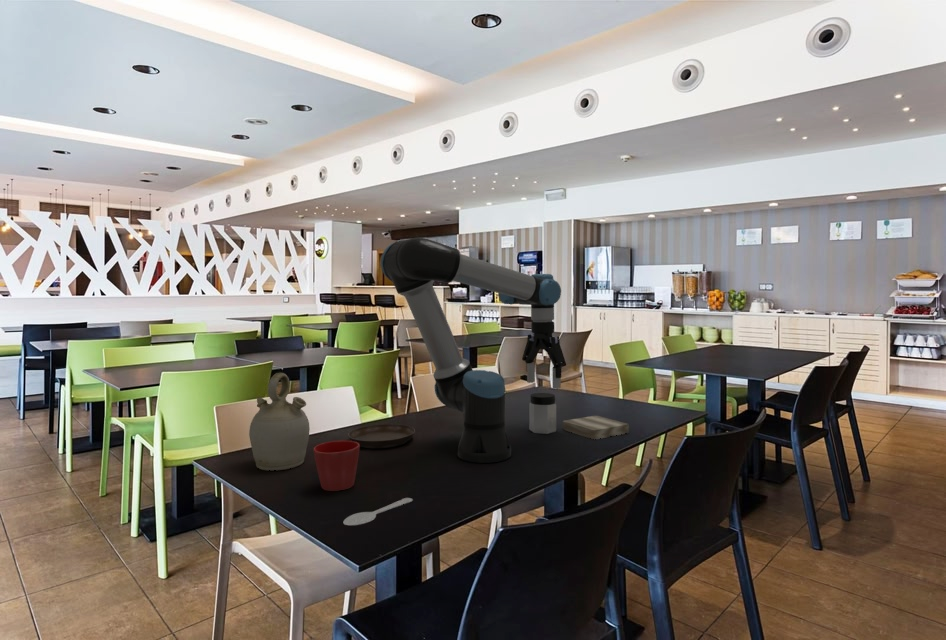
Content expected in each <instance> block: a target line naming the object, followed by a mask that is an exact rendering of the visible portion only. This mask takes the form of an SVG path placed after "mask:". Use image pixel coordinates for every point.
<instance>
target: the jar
mask: <svg viewBox="0 0 946 640" xmlns="http://www.w3.org/2000/svg"><path fill="white" fill-rule="evenodd" d="M529 399H530V402H529V404H528V405H529V408H528V409H529V412H528V413H529V414H528V415H529V416H528V417H529V419H528V420H529V421H528V422H529V423H528V426H529V431H530V432H531V433H534V434H543V435H550V434H552V433H556V432H557V403H556V395H555V394H553V393H548V392H534V393H531V394H530V398H529Z"/></svg>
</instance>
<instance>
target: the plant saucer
mask: <svg viewBox="0 0 946 640" xmlns="http://www.w3.org/2000/svg"><path fill="white" fill-rule="evenodd" d="M415 429H416V428H414V427H412V426H409V425H406V424H399V423H383V424H373V425H366V426H362V427H358V428H355V429H353V430H351V431H349V432H348V433H347V436H348V438H349V440H350V441H354V442H357V443H359V445H360V448H367V449H386V448H387V449H388V448H395V447H398V446H399V447H400V446H402V445H404V444H406V443H407V442H408V441H410V440H411V438H412V437H413V436H414V434H415V432H416V430H415Z"/></svg>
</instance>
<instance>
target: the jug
mask: <svg viewBox="0 0 946 640" xmlns="http://www.w3.org/2000/svg"><path fill="white" fill-rule="evenodd" d="M279 381H280V383H281V386H280V387H281V388H280V392H279V393H278V391H277V390H278V389H277V388H278V384H279ZM290 383H291V382H290V378H289V376H288V375H287V374H286V373H284V372H276V373H275V374H273V375H272V376H271V377H270V379H269V382H268V385H267V395H268V398H269V399H270V400H271V403H268V400H266V399H264V398H263V397H261V396H258V397H257V398H256V402H257V403H256V404H257V405H256V407H258V408H259V409H258V411H257V412H256V413H255V414H254V416H253V418H251V422H250V425H249V431H248V433H249V434H248V436H249V437H248V438H249V440H250V445H251V451H252V455H253V460H254V462H255V466H256V468H257V469H258V468H259V470H260V471H269V470H270V471H271V472H272V471H273V472H274V470H276V471H282V470H283V471H284V470H290V468H291V469H294V468H296V467H298V466H301V465H302V464H303V463H304V462H305V458H306V454H307V448H308V444H309V439H310V422H309V419H308V416H307V415H306V412H305V411H304V410H303V409H302V408H304V407H306V406H307V402H306V401H305V400H304V399H303V398H301V397H299V396H294V397H293V398H292V403H290V402H288V400H287V396H288V395H289V391H290V387H291V385H290Z"/></svg>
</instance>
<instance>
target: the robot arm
mask: <svg viewBox="0 0 946 640" xmlns="http://www.w3.org/2000/svg"><path fill="white" fill-rule="evenodd" d="M380 267H381V268H380V269H381V271H382V273H383V276H385V277H386V278H387V279H388V280H389V281H391V282H392V284H393V285H394V288H395V290H396V293H397V294H398V295H400V296H403V297H404V298H405V300H406V303H407V304H408V307H409V309H410V311H411V314H412V316H413V318H414V321H415V324H416V325H417V329H418V330H419V332H420V335H421V338H422V340H423V342H424V344H425V347H426V349H427V351H428V354H429V356H430V358H431V361H432V363H433V365H434V367H435V370H434V372H433V378H434V381H435V383H434V392H435V393H434V394H435V396H436V398H437V399H438V400H439V402H440V403H441V404H443V406H446V407H447V408H449V409H453V410H456V411H459V412H462V413H463V428H462V429H463V430H462V433H461V436H460V440H459V443H458V445H457V456H458V458H459V459H461V460H462V461H466V462H471V463H479V464H487V463H488V464H489V463H497V462H502V461H506V460H508V459H510V457H512V445H511V444H510V440H509V437H508V435H507V434H508V433H507V431H506V427H505V426H506V424H505V423H506V417H505V416H506V411H505V410H506V408H505V407H506V402H505V401H506V394H505V393H506V385H505V384H506V383H505V379H504V377H503V375H501V374H499V373H497V372H495V371H488V370H484V369H478V370H477V369H475V370H474V369H473V367H472V365H471V362H470V360H469V359H466V358H464V357H463V356H462V353H461V352H460V349H459V347H458V344H457V342H456V340H455V337H454V334H453V333H452V330H451V328H450V325H449V322H448V320H447V317H446V315H445V313H444V310H443V307H442V305H441V302H440V300H439V298H438V296H437V293H436V291H435V289H434V286H433V284H434V282H435V281H437V282H443V283H445V284H451V283H452V282H457V283H460V284H464V285H467V286H472V287H476V288H478V289H482V290H486V291H490V292H493V293H497V294H498V298H499V300H500V302H501V303H502V304H504V305H530V320H531V326H530V327H531V328H530V329H531V331H530V332H531V334H527V339H526V345H525V347H524V350H523V355H522V357H521V359H522V361H524V362H525V363H526V374H527V375H526V381H527V382H526V383H528V384H529V383H535V382H536V370H535V368H536V366H535V365H536V364H535V359H536V357H537V355H538V353H539V352H540V350H543V351H544V352H546V353H547V356H548V358H549V360H550V362H551V363H552V365H553V367H552V369H551V370H552V374H551V376H552V389H555V390H556V389H560V388H561V387H562V386H561V385H562V383H561V382H562V381H561V378H562V368H563V367H566V366H567V363H566V358H565V356H564V353H563V350H562V347H561V344H560V336H553V333H555V322H554V320H555V304H556V303H557V302H558V301H559V300H560V299H561V296H562V288H561V286H560V284H559V282H558V281H556V279H555V278H554V275H553V274H551V273H540V274H539V273H534V274H531V275H530V274H528V273H523V272H520V271H517V270H513V269H511V268H507V267H504V266H501V265H497V264H495V263H491V262H487V261H485V260H481V259H478V258H475V257H471V256H469V255H465V254H462V253H461V251H460V250H459V249H458V248H456V247H451V246H448V245H446V244H444V243H441V242H438V241H435V240H432V239H430V238H429V239H428V238H424V237H411V238H409V239H400V240H398V241H395V242H393V243H391V244H389V245H388V246H387V247H386V248H385V249H384V250H383V253H382V254H381V257H380Z"/></svg>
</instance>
